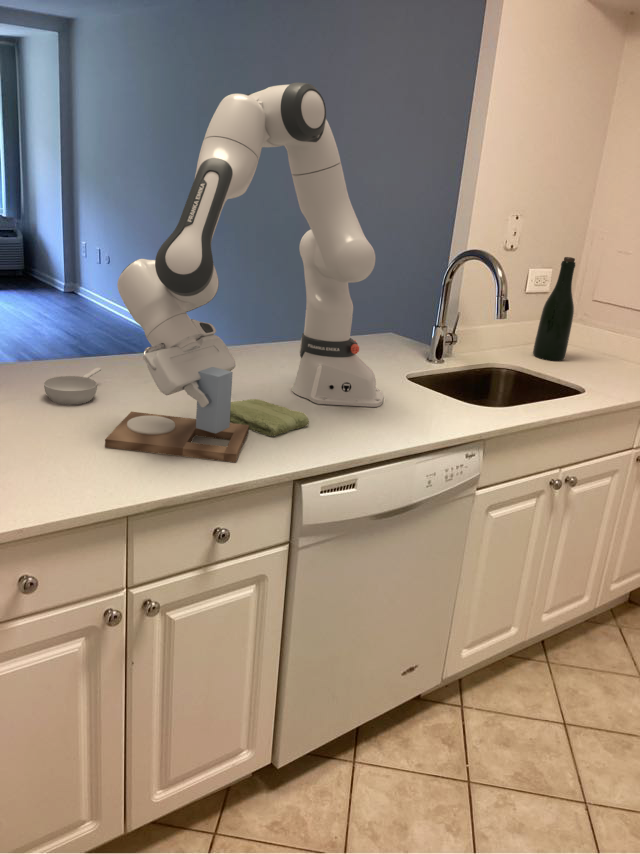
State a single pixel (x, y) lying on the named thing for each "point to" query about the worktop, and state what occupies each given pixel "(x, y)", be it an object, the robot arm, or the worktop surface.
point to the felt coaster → (151, 425)
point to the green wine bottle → (557, 317)
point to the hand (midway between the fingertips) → (216, 401)
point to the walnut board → (179, 439)
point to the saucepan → (71, 388)
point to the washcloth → (266, 417)
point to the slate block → (215, 400)
